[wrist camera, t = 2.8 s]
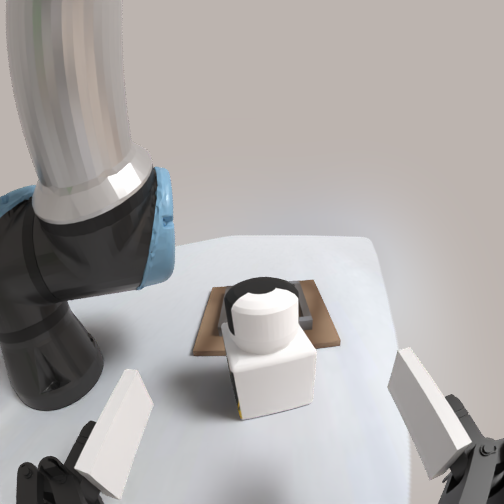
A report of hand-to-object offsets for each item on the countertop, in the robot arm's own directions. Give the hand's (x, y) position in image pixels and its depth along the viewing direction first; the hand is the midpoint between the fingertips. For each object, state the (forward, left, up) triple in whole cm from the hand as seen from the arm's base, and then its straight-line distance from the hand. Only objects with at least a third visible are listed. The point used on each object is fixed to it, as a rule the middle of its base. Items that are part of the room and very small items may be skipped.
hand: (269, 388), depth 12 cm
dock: (0, +25, -11) cm, 28 cm away
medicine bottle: (0, +10, -12) cm, 16 cm away
